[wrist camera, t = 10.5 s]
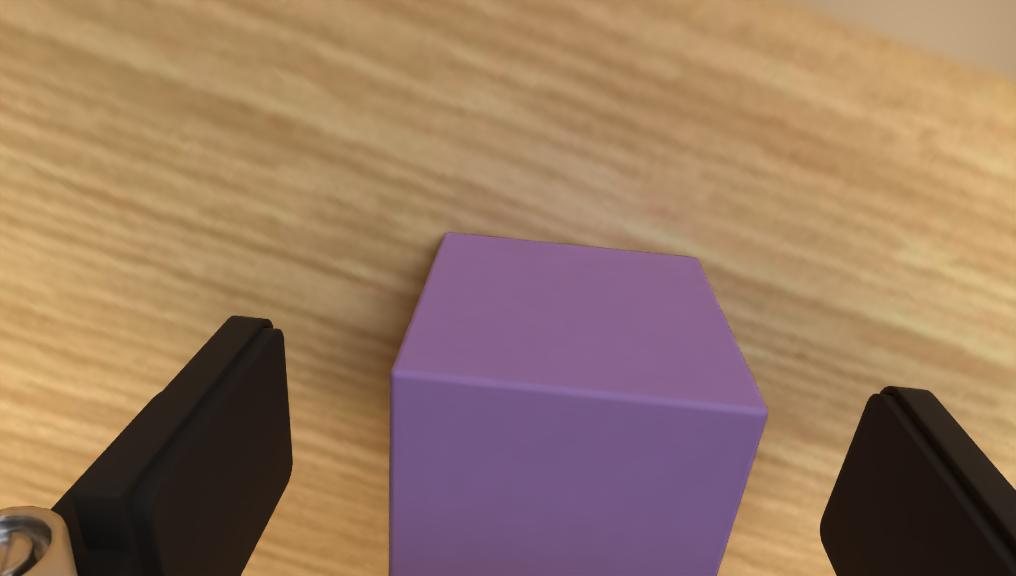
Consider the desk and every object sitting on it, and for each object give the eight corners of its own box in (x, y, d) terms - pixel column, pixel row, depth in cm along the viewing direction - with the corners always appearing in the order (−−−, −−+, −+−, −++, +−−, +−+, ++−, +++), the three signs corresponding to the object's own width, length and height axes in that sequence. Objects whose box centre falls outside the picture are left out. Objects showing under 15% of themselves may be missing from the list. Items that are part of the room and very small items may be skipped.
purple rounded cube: (435, 432, 14) (386, 626, 10) (444, 229, 12) (387, 370, 8) (652, 455, 14) (693, 660, 10) (699, 255, 12) (772, 411, 8)
